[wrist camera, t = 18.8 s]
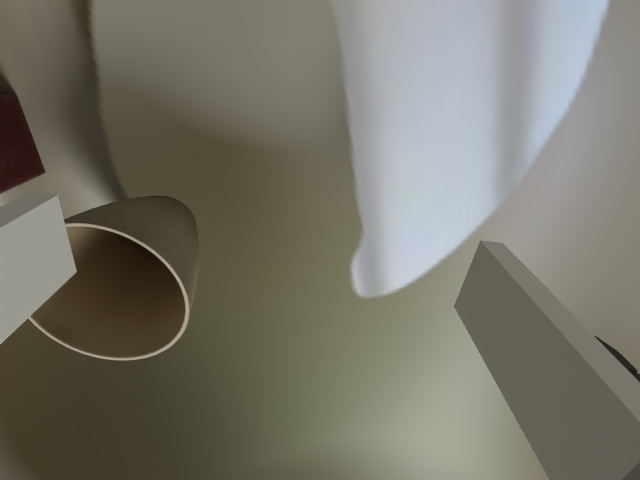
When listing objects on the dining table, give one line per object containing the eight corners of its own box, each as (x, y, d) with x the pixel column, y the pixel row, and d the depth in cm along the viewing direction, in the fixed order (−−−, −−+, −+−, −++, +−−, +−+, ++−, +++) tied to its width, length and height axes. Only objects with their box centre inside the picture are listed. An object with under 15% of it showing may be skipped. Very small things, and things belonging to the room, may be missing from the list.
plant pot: (225, 276, 49) (189, 367, 35) (114, 262, 47) (31, 352, 33) (229, 174, 42) (187, 237, 28) (99, 155, 40) (-15, 211, 26)
